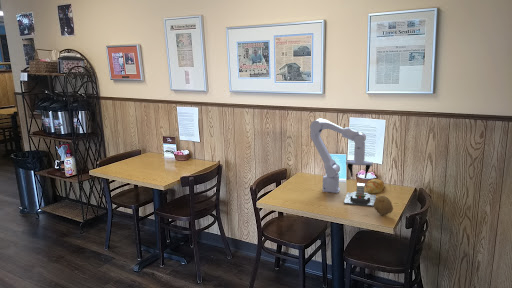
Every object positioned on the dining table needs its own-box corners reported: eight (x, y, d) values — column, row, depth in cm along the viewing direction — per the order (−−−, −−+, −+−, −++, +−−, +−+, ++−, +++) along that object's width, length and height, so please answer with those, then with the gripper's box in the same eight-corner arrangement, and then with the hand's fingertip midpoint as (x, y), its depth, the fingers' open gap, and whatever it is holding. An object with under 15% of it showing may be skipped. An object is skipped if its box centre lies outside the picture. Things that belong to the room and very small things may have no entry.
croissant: (371, 201, 219) (378, 191, 215) (357, 191, 224) (363, 180, 220) (385, 190, 235) (392, 180, 231) (371, 180, 240) (378, 170, 236)
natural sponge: (370, 211, 197) (371, 193, 195) (387, 210, 198) (388, 192, 195) (376, 218, 188) (377, 199, 186) (394, 217, 189) (395, 198, 186)
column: (356, 196, 210) (356, 185, 209) (356, 193, 214) (357, 182, 213) (364, 197, 209) (364, 186, 208) (364, 194, 213) (365, 183, 212)
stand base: (343, 204, 208) (344, 197, 207) (347, 194, 222) (347, 188, 221) (374, 207, 202) (374, 200, 202) (375, 196, 217) (376, 190, 216)
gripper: (345, 155, 215) (344, 178, 219) (372, 156, 211) (371, 180, 214) (346, 152, 222) (346, 174, 225) (373, 153, 217) (372, 176, 220)
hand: (358, 177), depth 220 cm, fingers open, 7 cm apart
